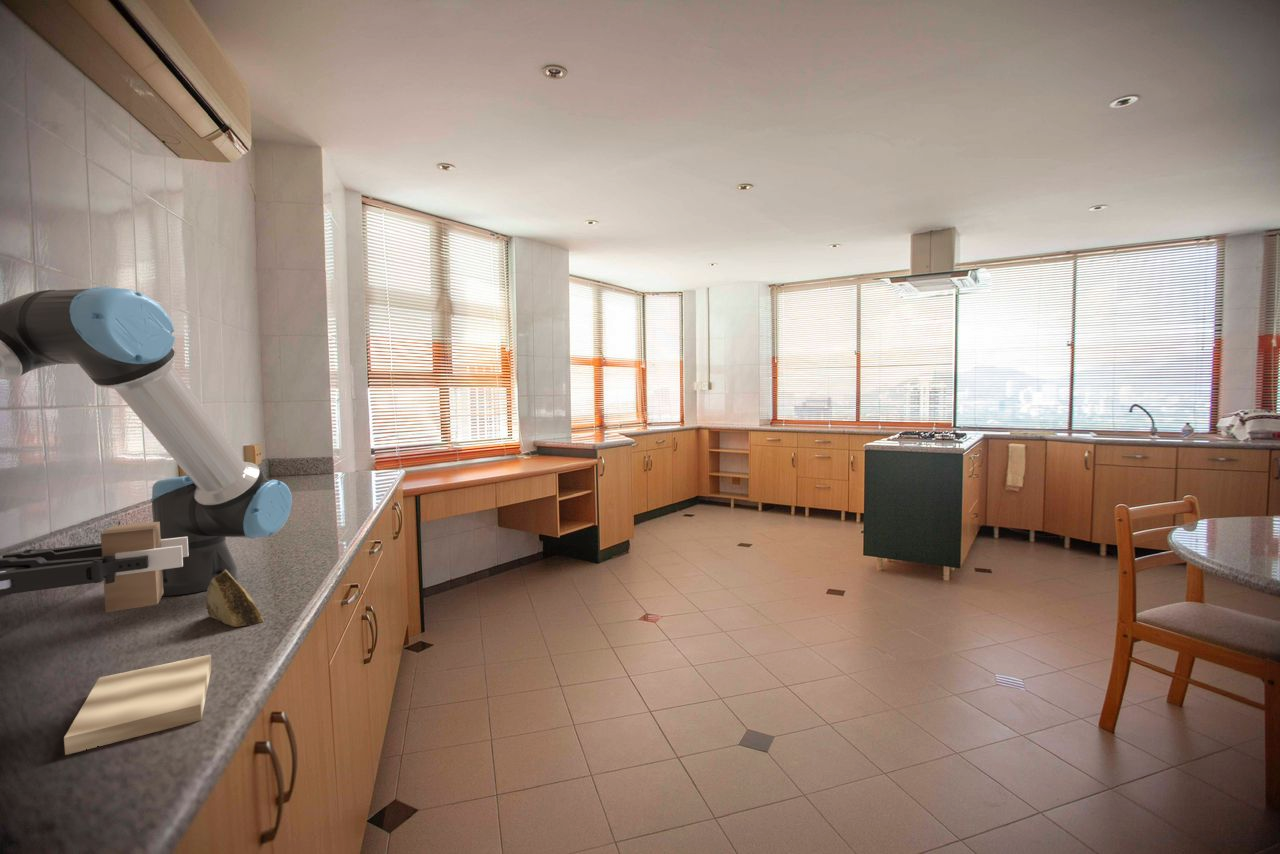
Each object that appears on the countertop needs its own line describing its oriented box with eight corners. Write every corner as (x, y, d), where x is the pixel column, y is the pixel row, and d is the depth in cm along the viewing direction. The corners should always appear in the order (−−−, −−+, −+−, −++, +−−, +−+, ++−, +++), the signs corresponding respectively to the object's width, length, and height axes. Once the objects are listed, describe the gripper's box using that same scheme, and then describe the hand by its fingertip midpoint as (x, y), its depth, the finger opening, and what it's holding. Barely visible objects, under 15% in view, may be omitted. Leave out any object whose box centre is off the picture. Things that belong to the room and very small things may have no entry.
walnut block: (115, 600, 76) (110, 526, 75) (163, 593, 78) (159, 521, 78) (105, 612, 71) (100, 534, 71) (157, 604, 74) (153, 528, 74)
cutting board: (100, 691, 76) (99, 677, 76) (211, 667, 83) (210, 654, 83) (65, 755, 63) (63, 737, 63) (201, 720, 70) (200, 704, 69)
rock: (188, 606, 101) (183, 616, 93) (222, 562, 104) (220, 568, 96) (248, 631, 106) (249, 643, 97) (279, 588, 109) (282, 596, 101)
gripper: (-36, 591, 73) (194, 561, 85) (-118, 643, 57) (176, 597, 70) (-40, 533, 72) (191, 512, 85) (-124, 570, 57) (173, 537, 70)
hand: (184, 551), depth 77 cm, fingers closed on walnut block, 5 cm apart
